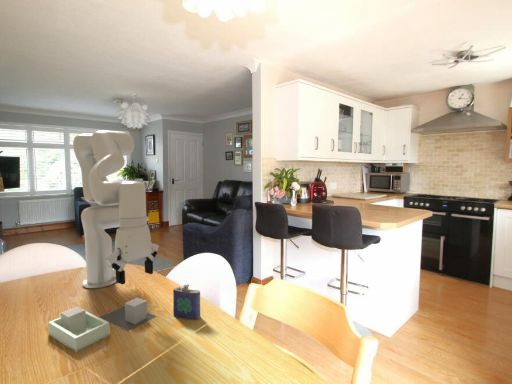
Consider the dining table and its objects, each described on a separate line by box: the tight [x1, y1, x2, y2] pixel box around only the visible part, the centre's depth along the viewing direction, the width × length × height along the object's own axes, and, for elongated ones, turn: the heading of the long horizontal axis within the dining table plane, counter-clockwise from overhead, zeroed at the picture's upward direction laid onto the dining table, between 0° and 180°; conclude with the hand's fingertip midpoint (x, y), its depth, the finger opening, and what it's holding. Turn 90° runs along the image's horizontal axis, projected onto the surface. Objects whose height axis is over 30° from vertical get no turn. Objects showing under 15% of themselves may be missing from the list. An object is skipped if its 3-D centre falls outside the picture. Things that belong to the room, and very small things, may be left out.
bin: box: [47, 310, 111, 353], centre depth 82 cm, size 9×15×4 cm, turn 58°
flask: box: [172, 283, 202, 321], centre depth 92 cm, size 9×3×11 cm, turn 74°
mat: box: [99, 305, 158, 332], centre depth 92 cm, size 10×15×1 cm, turn 58°
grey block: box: [124, 297, 148, 324], centre depth 90 cm, size 4×4×6 cm
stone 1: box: [60, 306, 86, 334], centre depth 83 cm, size 4×4×6 cm
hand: (135, 278), depth 89 cm, fingers open, 9 cm apart
